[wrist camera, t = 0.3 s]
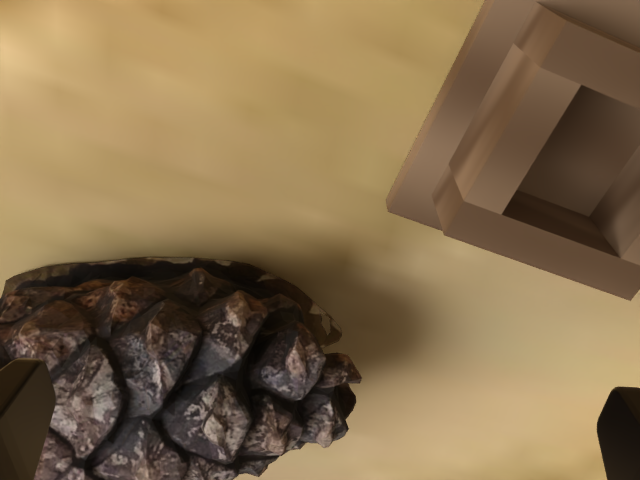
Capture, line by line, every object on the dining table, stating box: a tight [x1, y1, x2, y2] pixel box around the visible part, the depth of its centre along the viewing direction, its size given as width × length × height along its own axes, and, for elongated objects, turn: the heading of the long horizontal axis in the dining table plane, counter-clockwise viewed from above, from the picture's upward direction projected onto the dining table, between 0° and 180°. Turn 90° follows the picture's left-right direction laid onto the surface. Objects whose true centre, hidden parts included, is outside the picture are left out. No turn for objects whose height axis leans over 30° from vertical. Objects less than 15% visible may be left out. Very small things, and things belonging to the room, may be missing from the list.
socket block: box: [386, 0, 640, 301], centre depth 21 cm, size 10×10×4 cm
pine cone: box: [0, 257, 362, 480], centre depth 24 cm, size 10×18×10 cm, turn 104°
